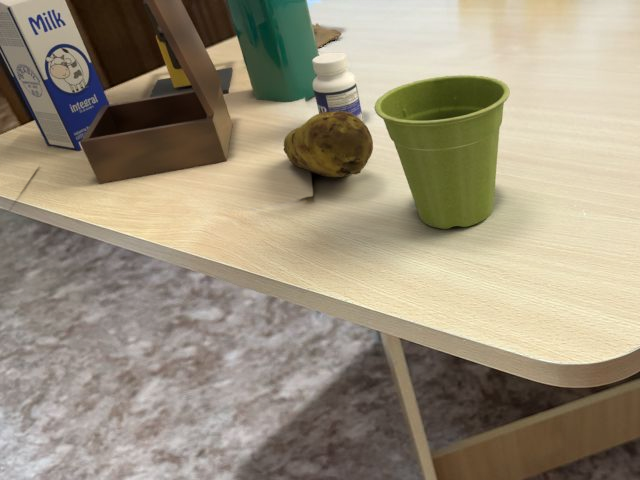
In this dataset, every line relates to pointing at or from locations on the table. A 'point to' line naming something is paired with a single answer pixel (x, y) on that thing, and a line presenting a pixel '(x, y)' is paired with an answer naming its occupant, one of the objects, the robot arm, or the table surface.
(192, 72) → the lid
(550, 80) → the table surface
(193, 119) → the brown wooden box
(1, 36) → the milk carton
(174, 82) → the block
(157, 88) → the mat
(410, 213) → the table surface
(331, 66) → the pill bottle
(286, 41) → the pitcher
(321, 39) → the jawbone
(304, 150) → the potato
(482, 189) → the plant pot
